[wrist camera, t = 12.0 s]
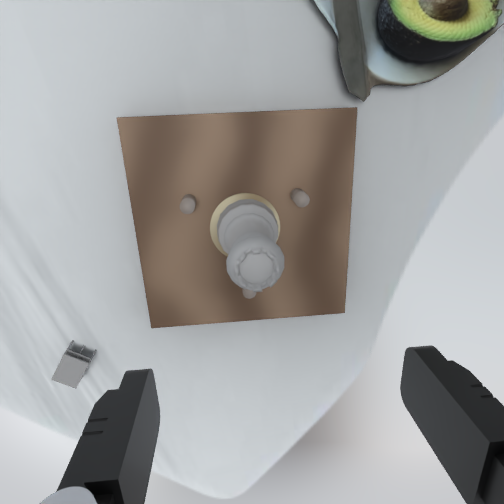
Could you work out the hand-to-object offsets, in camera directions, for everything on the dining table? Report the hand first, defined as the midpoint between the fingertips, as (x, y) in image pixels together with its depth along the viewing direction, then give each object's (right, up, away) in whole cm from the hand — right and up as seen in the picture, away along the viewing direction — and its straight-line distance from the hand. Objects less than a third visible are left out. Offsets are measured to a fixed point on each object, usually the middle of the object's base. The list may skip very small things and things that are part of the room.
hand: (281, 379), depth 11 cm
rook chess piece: (-1, +6, +15) cm, 16 cm away
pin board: (-2, +6, +17) cm, 18 cm away
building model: (-16, -5, +20) cm, 26 cm away
